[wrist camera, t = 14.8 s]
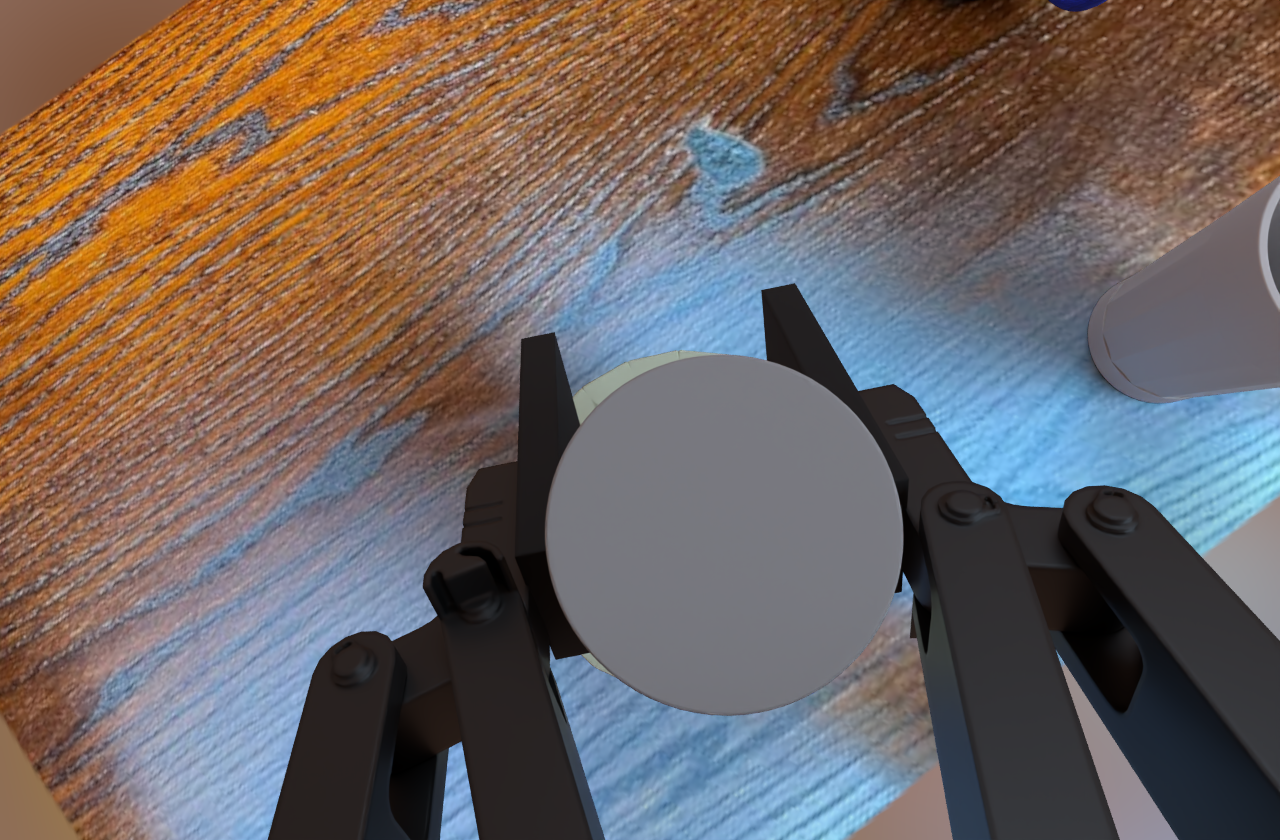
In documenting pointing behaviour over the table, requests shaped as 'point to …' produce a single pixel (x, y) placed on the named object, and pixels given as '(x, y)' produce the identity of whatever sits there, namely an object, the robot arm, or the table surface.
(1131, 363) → the cup
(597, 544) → the container
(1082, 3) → the mug
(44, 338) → the table surface
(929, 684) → the robot arm
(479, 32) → the table surface
